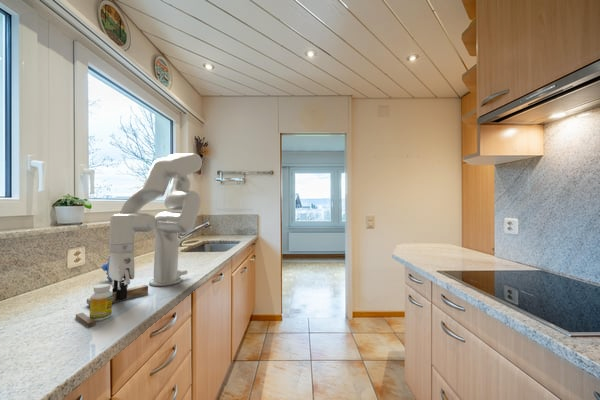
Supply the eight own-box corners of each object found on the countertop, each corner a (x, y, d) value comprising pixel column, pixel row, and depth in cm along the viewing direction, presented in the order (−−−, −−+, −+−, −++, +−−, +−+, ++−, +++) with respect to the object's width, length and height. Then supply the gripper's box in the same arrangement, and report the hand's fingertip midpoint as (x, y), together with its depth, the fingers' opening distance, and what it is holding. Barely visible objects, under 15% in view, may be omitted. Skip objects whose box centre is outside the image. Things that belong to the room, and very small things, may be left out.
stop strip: (82, 316, 78) (82, 312, 78) (95, 325, 73) (95, 321, 73) (75, 318, 77) (75, 314, 77) (88, 327, 71) (88, 323, 71)
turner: (142, 291, 102) (143, 284, 102) (150, 294, 99) (150, 286, 99) (86, 305, 87) (86, 296, 87) (92, 309, 84) (93, 300, 84)
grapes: (103, 277, 120) (104, 251, 121) (120, 276, 123) (121, 251, 124) (97, 284, 110) (98, 256, 110) (116, 282, 113) (117, 255, 113)
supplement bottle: (92, 315, 79) (93, 284, 80) (113, 312, 82) (114, 282, 82) (86, 322, 74) (88, 289, 75) (109, 319, 77) (110, 287, 77)
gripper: (143, 249, 92) (141, 301, 91) (123, 244, 101) (121, 292, 100) (119, 251, 86) (117, 307, 85) (100, 246, 95) (97, 297, 94)
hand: (119, 298), depth 93 cm, fingers closed on turner, 2 cm apart
